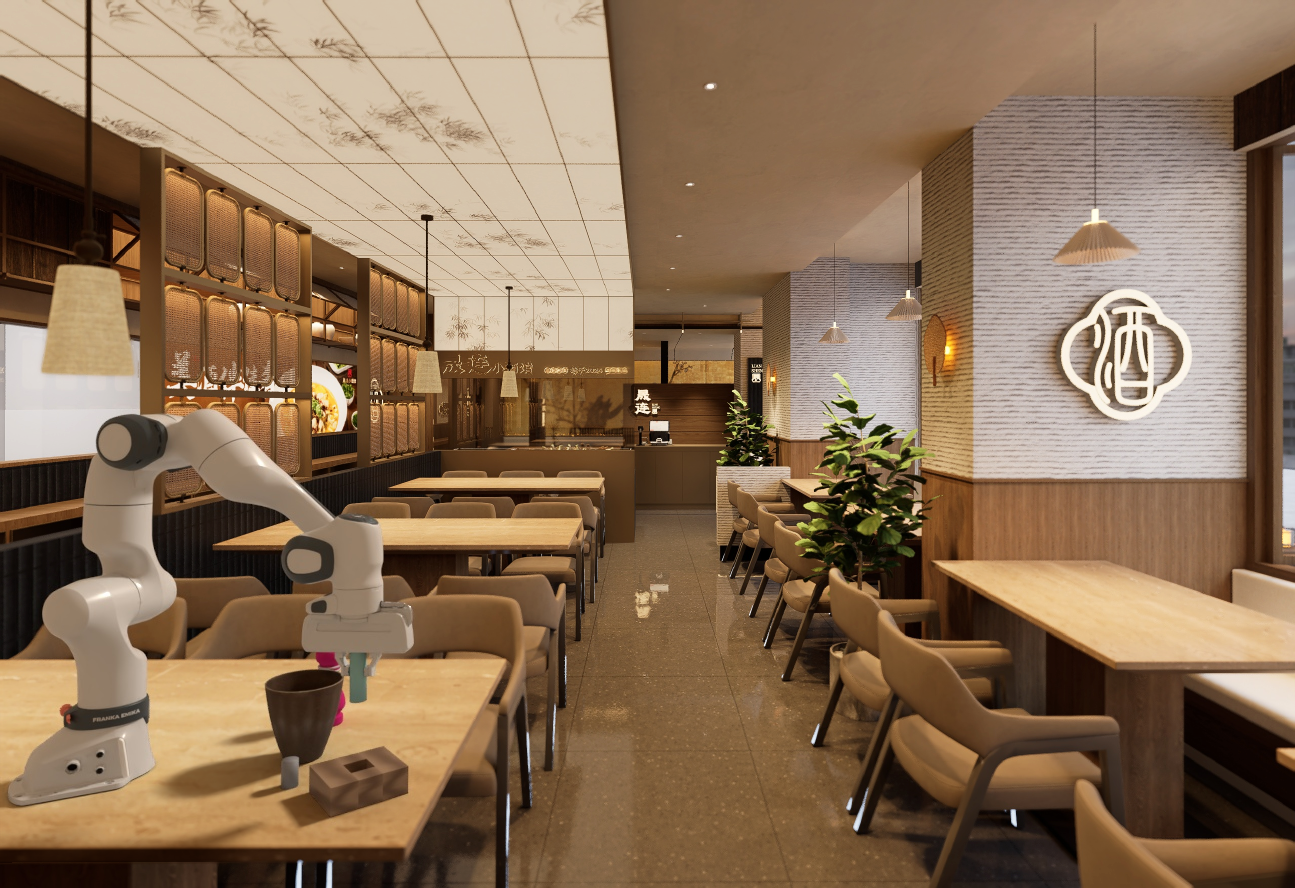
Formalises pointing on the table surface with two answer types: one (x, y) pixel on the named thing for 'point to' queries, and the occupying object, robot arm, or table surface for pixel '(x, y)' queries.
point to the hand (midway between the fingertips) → (358, 675)
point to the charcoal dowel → (289, 772)
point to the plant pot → (303, 710)
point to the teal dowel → (358, 677)
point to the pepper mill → (330, 663)
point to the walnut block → (357, 780)
